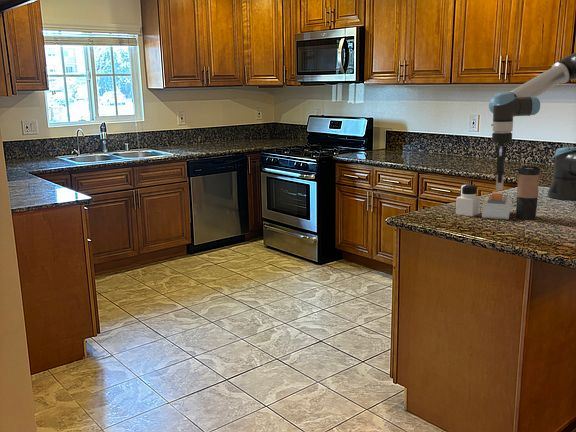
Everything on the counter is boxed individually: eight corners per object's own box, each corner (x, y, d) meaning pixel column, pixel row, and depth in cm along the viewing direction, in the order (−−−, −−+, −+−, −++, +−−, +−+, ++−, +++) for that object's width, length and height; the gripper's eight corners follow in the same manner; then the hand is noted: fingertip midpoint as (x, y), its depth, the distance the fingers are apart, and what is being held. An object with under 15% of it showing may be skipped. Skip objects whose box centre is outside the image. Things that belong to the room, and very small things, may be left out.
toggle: (502, 201, 226) (503, 191, 225) (501, 202, 223) (502, 192, 223) (491, 200, 228) (492, 191, 227) (491, 202, 225) (491, 192, 224)
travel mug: (538, 220, 219) (542, 169, 214) (517, 219, 220) (520, 168, 216) (533, 215, 226) (537, 166, 222) (513, 215, 228) (517, 166, 223)
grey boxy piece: (510, 212, 234) (511, 194, 232) (508, 219, 221) (509, 201, 220) (484, 210, 238) (485, 193, 236) (481, 217, 225) (482, 199, 223)
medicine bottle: (479, 213, 232) (481, 184, 229) (472, 216, 227) (473, 187, 224) (463, 211, 237) (464, 183, 234) (455, 214, 232) (456, 185, 229)
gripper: (493, 130, 234) (490, 186, 239) (491, 133, 222) (488, 192, 227) (513, 130, 231) (509, 187, 236) (511, 133, 219) (508, 193, 225)
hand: (499, 190), depth 232 cm, fingers closed
